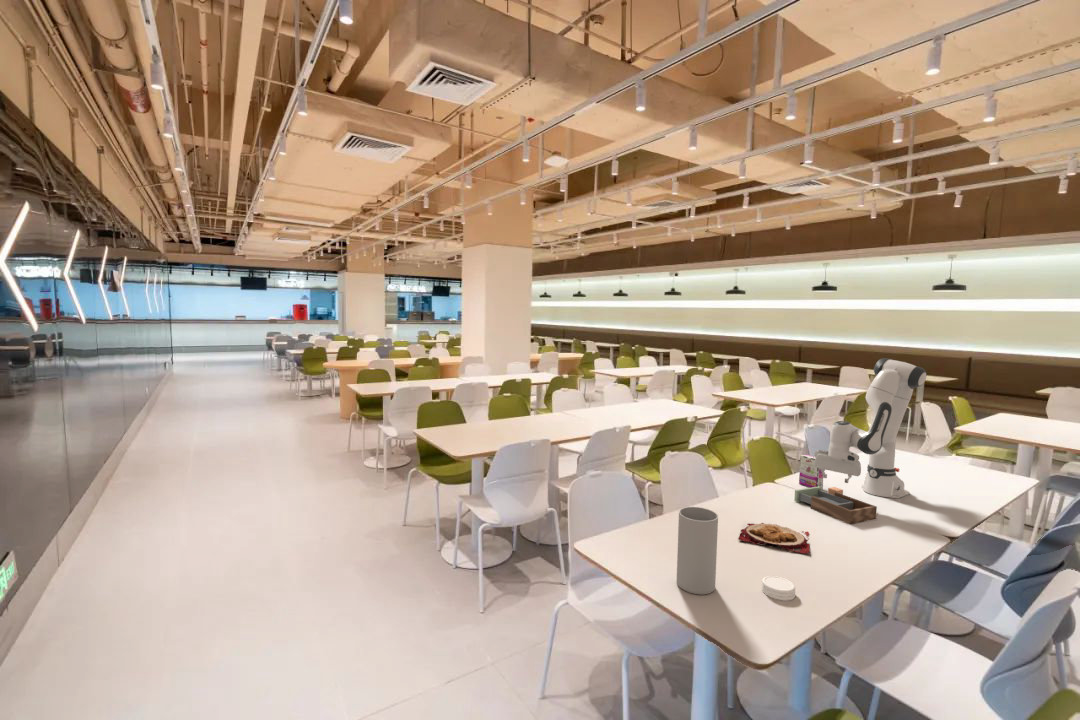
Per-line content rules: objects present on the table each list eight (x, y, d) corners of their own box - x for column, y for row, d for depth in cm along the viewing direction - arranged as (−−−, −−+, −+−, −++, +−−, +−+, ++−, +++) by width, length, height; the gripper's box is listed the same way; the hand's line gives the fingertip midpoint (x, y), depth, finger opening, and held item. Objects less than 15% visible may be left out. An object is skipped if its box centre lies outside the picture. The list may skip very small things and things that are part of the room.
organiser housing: (835, 504, 245) (836, 492, 244) (875, 519, 226) (876, 506, 226) (810, 508, 239) (811, 496, 238) (850, 524, 220) (850, 511, 220)
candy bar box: (823, 489, 267) (824, 459, 266) (817, 490, 265) (818, 460, 264) (804, 482, 278) (806, 454, 276) (798, 483, 275) (799, 454, 274)
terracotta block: (834, 498, 253) (834, 486, 253) (842, 501, 249) (843, 489, 249) (827, 499, 252) (828, 487, 251) (835, 502, 247) (836, 490, 247)
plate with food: (809, 558, 190) (810, 549, 190) (737, 541, 202) (738, 533, 202) (808, 535, 211) (809, 527, 211) (744, 522, 223) (744, 514, 223)
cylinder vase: (721, 585, 168) (724, 513, 166) (705, 600, 159) (708, 524, 157) (686, 572, 176) (688, 504, 174) (669, 586, 167) (672, 514, 165)
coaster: (784, 585, 169) (785, 575, 169) (801, 601, 159) (801, 591, 159) (756, 585, 169) (756, 575, 169) (770, 601, 159) (771, 591, 159)
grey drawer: (818, 497, 254) (819, 486, 253) (855, 510, 235) (856, 499, 235) (794, 500, 248) (794, 490, 247) (830, 515, 229) (830, 503, 229)
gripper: (813, 450, 252) (811, 476, 253) (861, 459, 239) (858, 487, 240) (816, 447, 257) (813, 473, 258) (863, 456, 244) (859, 483, 245)
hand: (835, 480), depth 249 cm, fingers open, 8 cm apart
